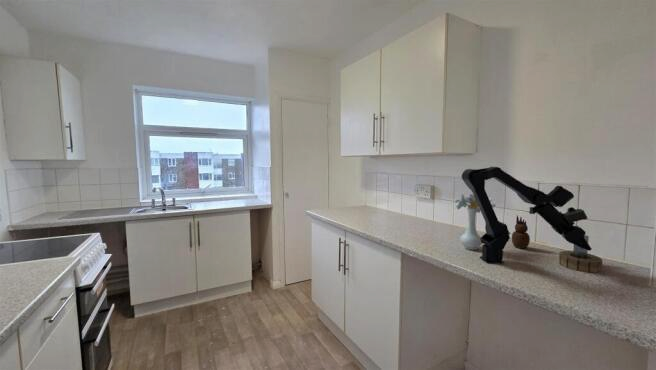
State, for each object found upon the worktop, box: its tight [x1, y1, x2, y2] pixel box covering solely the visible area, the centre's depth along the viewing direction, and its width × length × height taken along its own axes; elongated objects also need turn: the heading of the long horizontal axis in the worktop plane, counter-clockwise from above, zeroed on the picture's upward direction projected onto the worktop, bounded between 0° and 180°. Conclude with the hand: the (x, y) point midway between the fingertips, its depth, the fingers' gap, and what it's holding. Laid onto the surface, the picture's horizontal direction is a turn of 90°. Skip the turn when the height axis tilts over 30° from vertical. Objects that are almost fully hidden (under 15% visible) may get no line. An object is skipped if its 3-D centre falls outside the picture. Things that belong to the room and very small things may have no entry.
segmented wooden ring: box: [558, 250, 603, 274], centre depth 107 cm, size 12×12×4 cm
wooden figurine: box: [511, 214, 531, 250], centre depth 129 cm, size 7×6×15 cm
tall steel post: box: [572, 234, 590, 259], centre depth 107 cm, size 4×4×12 cm
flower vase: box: [454, 193, 496, 251], centre depth 130 cm, size 13×18×25 cm
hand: (585, 246), depth 106 cm, fingers open, 9 cm apart
